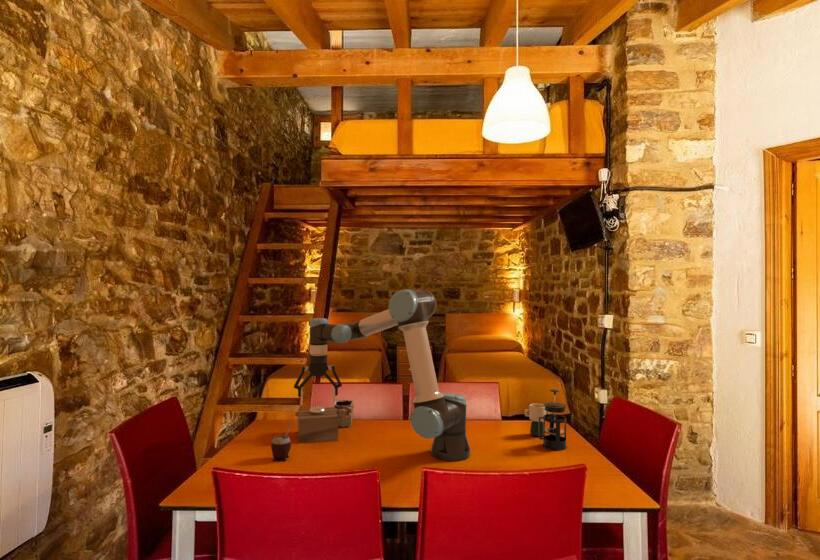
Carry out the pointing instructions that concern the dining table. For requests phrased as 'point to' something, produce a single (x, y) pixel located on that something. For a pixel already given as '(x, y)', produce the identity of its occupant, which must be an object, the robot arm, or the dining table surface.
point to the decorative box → (344, 412)
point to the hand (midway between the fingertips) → (317, 404)
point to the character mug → (536, 417)
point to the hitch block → (317, 426)
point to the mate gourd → (281, 446)
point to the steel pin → (317, 410)
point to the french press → (554, 438)
